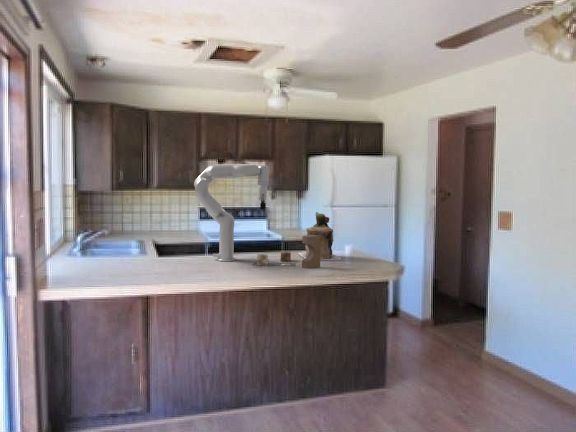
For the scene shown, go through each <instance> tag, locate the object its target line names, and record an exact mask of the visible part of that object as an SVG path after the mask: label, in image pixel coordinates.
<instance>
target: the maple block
mask: <svg viewBox="0 0 576 432" xmlns="http://www.w3.org/2000/svg"><path fill="white" fill-rule="evenodd" d="M268 261H269V254H268V253H267V254H266V253H258V254H257V255H256V263H257V265H268V263H269V262H268Z"/></svg>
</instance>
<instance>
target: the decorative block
mask: <svg viewBox="0 0 576 432" xmlns="http://www.w3.org/2000/svg"><path fill="white" fill-rule="evenodd" d="M301 240H302V242H301V243H302V244H304V245H305V246H306V245H307V246H308V248H309V254H308V256H307V257H306V258H305V259H304V258H303V259H302V260H301V268H302V269H303V268H304V269H313V268H321V261H320V250H321V236H320V235H308V236H307V235H302V239H301Z"/></svg>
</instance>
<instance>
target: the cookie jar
mask: <svg viewBox="0 0 576 432" xmlns="http://www.w3.org/2000/svg"><path fill="white" fill-rule="evenodd" d="M315 220H316V221H315V222H316V223H315V224H314V225H313V226H310V227H306V229H305V231H306V233H307V234H306V236H308V235H320V236H321V250H320V262H325V261H328V262H329V261H331V262H334V261H341V258H342V257H340V256H338V255H335V254H334V253H333V249H332V247H333V243H334V234H333V233H334V229H333V228H331V227H330V226H329V224H328V223H330V217H329V216H326V214H325V213H319V212H315ZM304 247H305V252H298V254H299V255H298V256H300V257H301V258H303V260H304V259H305V258H306V257H307V256H308V254H309V248H308V246H307V245H306V244H305V246H304Z"/></svg>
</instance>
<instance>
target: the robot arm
mask: <svg viewBox="0 0 576 432" xmlns="http://www.w3.org/2000/svg"><path fill="white" fill-rule="evenodd" d="M269 169H270V167H269V165H256V164H247V165H246V164H245V165H240V164H238V165H237V164H221V165H220V164H218V165H217V164H215V165H209V166H207V168H205V170H204V171H203V172H202V173H201V174H199V175H198V177H197V178H195V180H194V182H193V186H194V188H195V189H194V193H195V197H196V199H197V201H198V202H199V203H200V204H201V205H202V206H203V207H204V209H205V210H206V213H207V214H208V215H209V216H210V217H212V219H213V220H214V221H215V222H217V224H219V229H218V230H219V232H218V233H219V234H218V235H219V241H218V242H219V245H218V246H219V247H218V248H219V250H218V251H219V252H218V253H212V257H213V258H216V260H217V261H219V262H233V261H236V260H237V257H235V256H234V253H235V252H234V249H235V248H234V245H235V243H234V235H235V234H234V231H235V229H234V228H235V219H234V216H233V215H232V214H231V213H229V212H227V211H226V210H225V209H224V208H223V206H222V205H221V203H219V201H217V200H216V199H215V198H214V197H213V196H212V195H211V194H210V193H209V186H210V184H211V182H212V181H213V180H214V179H228V178H229V179H232V178H233V179H234V178H235V179H236V178H243V177H245V178H246V177H249V178H250V177H257V186H258V188H259V189H258V201H260V203H259V204H260V210H266V208H267V202H266V201H267V196H268V195H267V194H268V187H269V186H270V185H269V184H270V182H269V181H270V170H269Z"/></svg>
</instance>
